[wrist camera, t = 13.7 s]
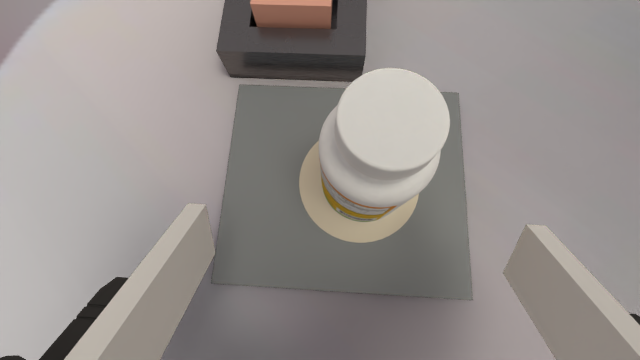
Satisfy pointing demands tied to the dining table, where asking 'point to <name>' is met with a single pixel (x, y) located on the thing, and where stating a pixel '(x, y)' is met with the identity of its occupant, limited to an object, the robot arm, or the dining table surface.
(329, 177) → the supplement bottle
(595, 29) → the dining table surface
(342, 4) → the button housing
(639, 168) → the dining table surface
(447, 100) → the slate board
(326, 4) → the button
